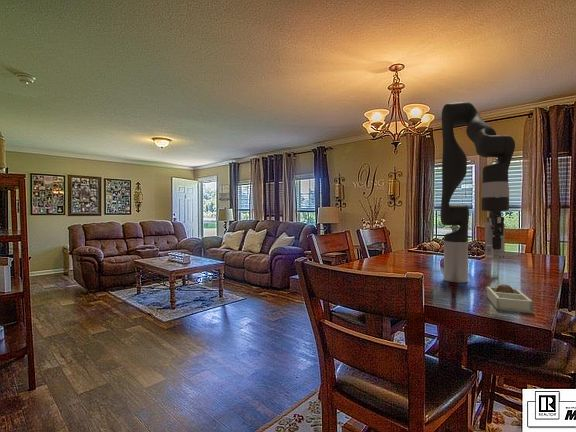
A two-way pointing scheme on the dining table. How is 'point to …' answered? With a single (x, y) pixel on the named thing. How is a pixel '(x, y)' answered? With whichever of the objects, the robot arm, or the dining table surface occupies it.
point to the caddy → (510, 300)
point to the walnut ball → (504, 289)
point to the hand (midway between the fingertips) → (494, 248)
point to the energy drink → (489, 251)
